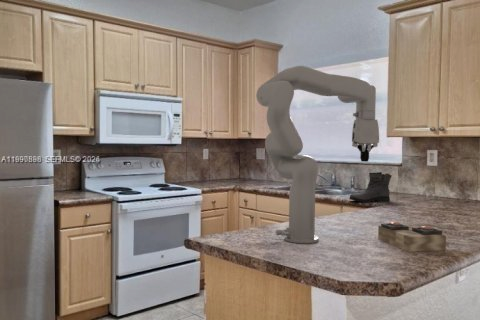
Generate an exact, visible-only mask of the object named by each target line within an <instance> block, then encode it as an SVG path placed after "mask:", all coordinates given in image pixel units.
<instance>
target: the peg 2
mask: <svg viewBox="0 0 480 320" xmlns="http://www.w3.org/2000/svg"><path fill="white" fill-rule="evenodd" d="M420 227H421V230H424V231H433V228H434V227H433V226H429V225H421V226H420Z"/></svg>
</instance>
